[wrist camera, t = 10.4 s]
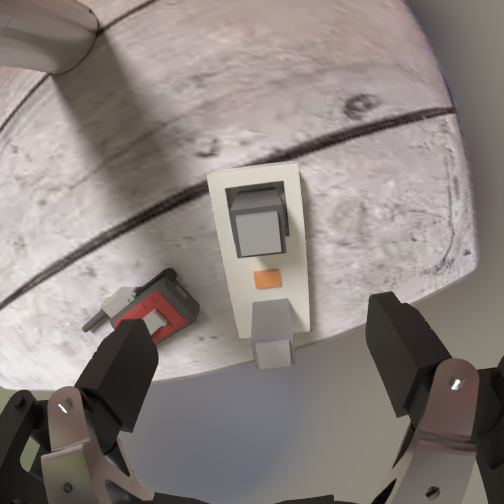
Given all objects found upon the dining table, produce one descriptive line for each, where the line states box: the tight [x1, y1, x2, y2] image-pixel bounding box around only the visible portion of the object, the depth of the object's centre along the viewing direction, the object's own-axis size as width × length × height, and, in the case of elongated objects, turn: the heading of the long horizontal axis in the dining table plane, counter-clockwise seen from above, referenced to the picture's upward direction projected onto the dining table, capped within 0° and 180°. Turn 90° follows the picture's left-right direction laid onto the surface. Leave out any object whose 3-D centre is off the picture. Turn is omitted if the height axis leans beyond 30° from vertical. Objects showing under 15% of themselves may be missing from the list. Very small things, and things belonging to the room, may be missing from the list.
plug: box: [230, 187, 287, 259], centre depth 22 cm, size 4×4×9 cm
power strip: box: [207, 161, 310, 369], centre depth 25 cm, size 18×8×10 cm, turn 8°
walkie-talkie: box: [82, 268, 199, 345], centre depth 32 cm, size 9×4×20 cm
